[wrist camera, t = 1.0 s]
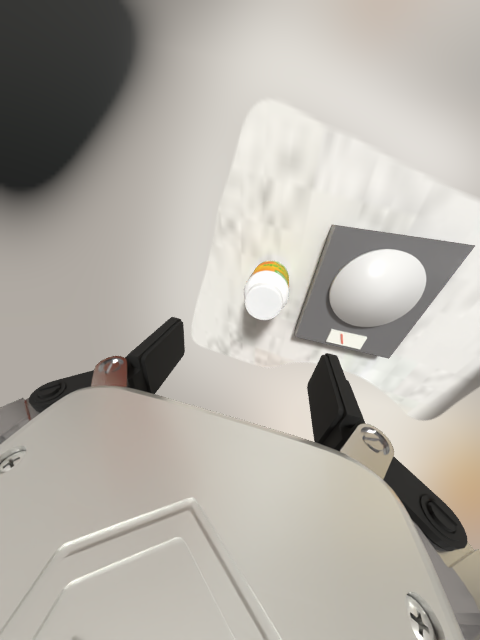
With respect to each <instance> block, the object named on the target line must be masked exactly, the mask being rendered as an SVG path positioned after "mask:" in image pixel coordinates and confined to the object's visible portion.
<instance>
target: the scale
mask: <svg viewBox="0 0 480 640" xmlns="http://www.w3.org/2000/svg"><path fill="white" fill-rule="evenodd" d="M474 247H475V245H468V244H461V243H454V242H447V241H440V240H434V239H427V238H420V237H413V236H406V235H399V234H392V233H386V232H379V231H372V230H365V229H358V228H351V227H345V226H338V225H332V226H331V229H330V232H329V235H328V238H327V240H326V243H325V246H324V249H323V252H322V255H321V257H320V260H319V263H318V266H317V269H316V272H315V275H314V277H313V280H312V283H311V286H310V289H309V292H308V295H307V297H306V300H305V303H304V306H303V309H302V312H301V315H300V317H299V320H298V323H297V326H296V329H295V336H296V337H299V338H303V339H307V340H312V341H316V342H320V343H324V344H329V345H333V346H337V347H342V348H346V349H350V350H355V351H359V352H363V353H368V354H372V355H376V356H381V357H385V358H390V356H391V355H392V354H393V352H394V351H395V350H396V349H397V347H398V346H399V345H400V343H401V342H402V341H403V339H404V338H405V337H406V335H407V334H408V333H409V332H410V330H411V329H412V328H413V326H414V325H415V324H416V322H417V321H418V320H419V318H420V317H421V316H422V315H423V313H424V312H425V311H426V309H427V308H428V307H429V305H430V304H431V303H432V301H433V300H434V299H435V298H436V296H437V295H438V294H439V292H440V291H441V290H442V288H443V287H444V286H445V285H446V283H447V282H448V281H449V279H450V278H451V277H452V275H453V274H454V273H455V271H456V270H457V269H458V268H459V266H460V265H461V264H462V262H463V261H464V260H465V258H466V257H467V256H468V254H469V253H470V252H471V251H472V249H473V248H474Z"/></svg>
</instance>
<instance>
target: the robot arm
mask: <svg viewBox="0 0 480 640" xmlns="http://www.w3.org/2000/svg"><path fill="white" fill-rule="evenodd" d="M184 351H185V350H184V330H183V322H182V321H181V319H178V318H174V317H171V318H170V319H169V320H168V321H166V322H165V323H164V324H163V325H162V326H161V327H160V328H158V329H157V330H156V331H155V332H154V333H153V334H151V335H150V336H149V337H148V338H147V339H146V340H144V341H143V342H142V343H141V344H140V345H139V346H137V347H136V348H135V349H134V350H133V351H132V352H131V353H130V354H128V356H127V357H125V358H124V357H121V356H112V357H108V358H106V359H104V360H102V361H100V362H99V363H98V364H97V365H96V366H95V369H94V370H93V371H90V372H86V373H82V374H78V375H75V376H71V377H67V378H63V379H59V380H56V381H52V382H49V383H47V384H45V385H43V386H41V387H39V388H38V389H36V390H35V391H34V392H33V393H32V394H31V396H30V397H29V398H28V399H26V400H25V399H24V398H22V399H19V400H17V401H14V402H12V403H10V404H7V405H5V406H3V407H0V640H480V551H479V549H478V550H474V549H473V548H472V547H471V545H470V544H469V543H468V542H467V536H466V533H465V530H464V528H463V526H462V524H461V522H460V521H459V519H458V518H457V517H456V515H455V514H454V513H453V511H452V510H451V509H450V508H449V507H448V506H447V505H446V504H445V503H444V502H443V501H442V500H441V499H440V498H439V497H438V496H436V495H435V494H434V493H433V492H432V491H431V490H430V489H429V488H428V487H427V486H425V485H424V484H423V483H422V482H421V481H420V480H419V479H418V478H417V477H416V476H415V475H413V474H412V473H411V472H410V471H409V470H408V469H407V468H406V467H405V466H403V465H402V464H401V463H400V462H399V461H398V460H397V459H396V458H395V457H394V449H393V446H392V444H391V442H390V441H389V439H388V438H387V437H386V436H385V435H384V434H383V433H382V432H381V431H380V430H378V429H377V428H376V427H374V426H371V425H369V424H365V421H364V419H363V416H362V414H361V411H360V409H359V406H358V404H357V401H356V399H355V396H354V393H353V391H352V388H351V386H350V384H349V382H348V381H347V380H346V378H345V376H344V373H343V370H342V368H341V365H340V362H339V360H338V357H337V356H336V355H332V354H328V353H326V354H325V355H322V356H321V358H320V360H319V362H318V364H317V366H316V368H315V370H314V372H313V375H312V377H311V378H310V380H309V382H308V387H307V388H308V396H309V404H310V411H311V419H312V427H313V434H314V441H315V442H312V441H309V440H306V439H303V438H300V437H297V436H294V435H291V434H287V433H284V432H281V431H277V430H274V429H271V428H267V427H264V426H261V425H257V424H254V423H251V422H248V421H244V420H241V419H237V418H234V417H231V416H227V415H224V414H220V413H217V412H214V411H211V410H207V409H204V408H200V407H197V406H193V405H190V404H187V403H183V402H180V401H176V400H173V399H169V398H166V397H162V396H159V395H155V393H156V391H157V390H158V389H159V388H160V386H161V385H162V383H163V382H164V381H165V380H166V378H167V377H168V375H169V374H170V373H171V371H172V370H173V369H174V367H175V366H176V365H177V363H178V362H179V361H180V359H181V358H182V357H183V355H184Z"/></svg>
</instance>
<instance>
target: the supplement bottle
mask: <svg viewBox="0 0 480 640" xmlns="http://www.w3.org/2000/svg"><path fill="white" fill-rule="evenodd" d="M288 297H289V276H288V272H287V270H286V268H285V267H284V266H283V265H282V264H281V263H279V262H277V261H273V260H269V261H265V262H262V263H261V264H259V265H258V266H257V267H256V269H255V270H254V272H253V273H252V275H251V276H250V278H249V279H248V281H247V283H246V285H245V288H244V298H245V307H246V309H247V311H248V313H249V314H250V315H251V316H253V317H254V318H256V319H259V320H269V319H272V318H274V317H276V316H277V315H278V314H279V312H280V311H281V309H282V308H283V307H284V306H285V304H286V303H287V301H288Z"/></svg>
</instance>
